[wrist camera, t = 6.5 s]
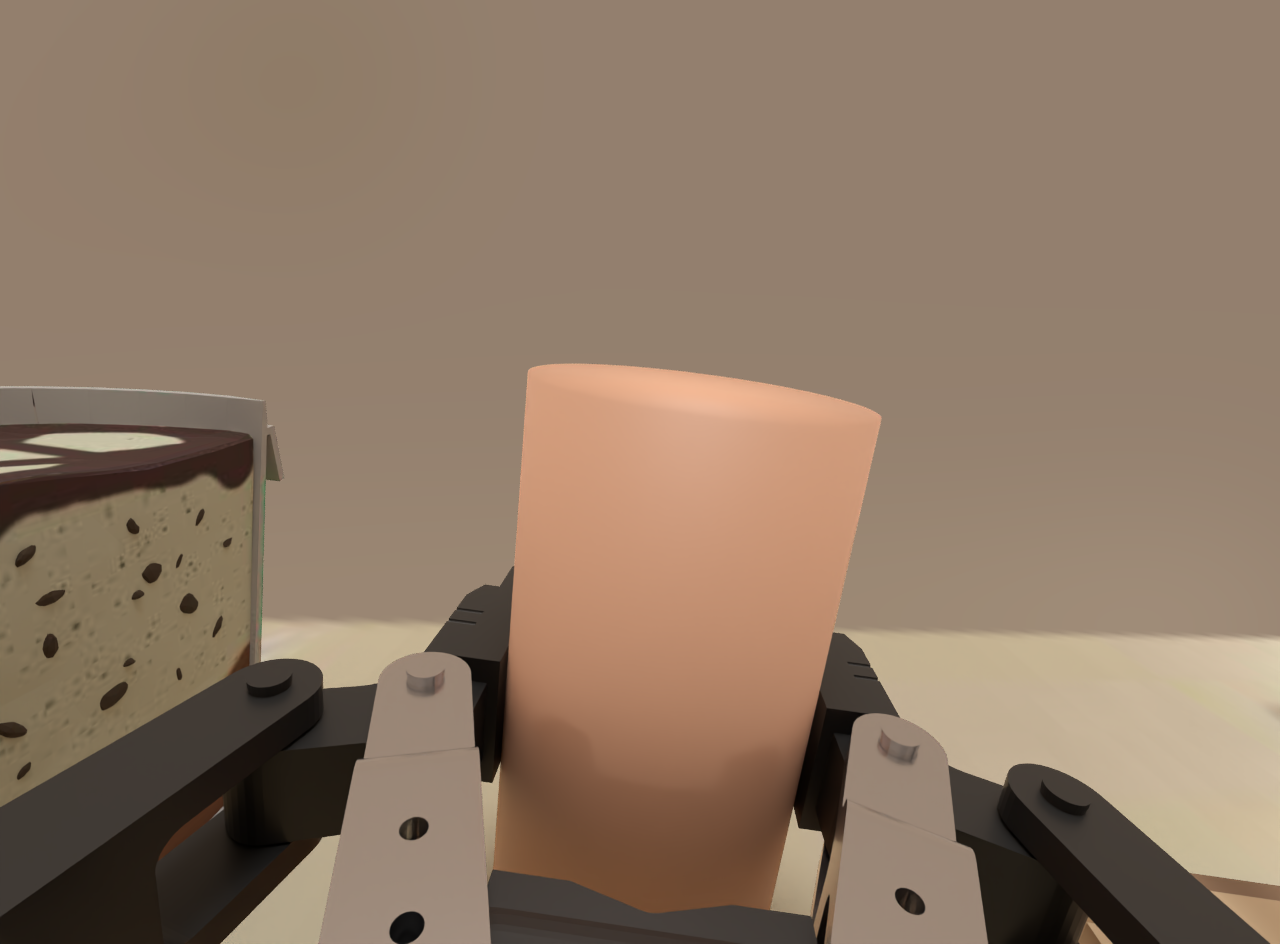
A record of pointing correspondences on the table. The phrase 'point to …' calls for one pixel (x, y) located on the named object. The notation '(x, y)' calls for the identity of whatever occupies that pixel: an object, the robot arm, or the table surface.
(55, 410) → the food container
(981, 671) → the table surface
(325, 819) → the robot arm
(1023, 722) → the table surface
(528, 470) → the terracotta pin
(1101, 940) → the board
